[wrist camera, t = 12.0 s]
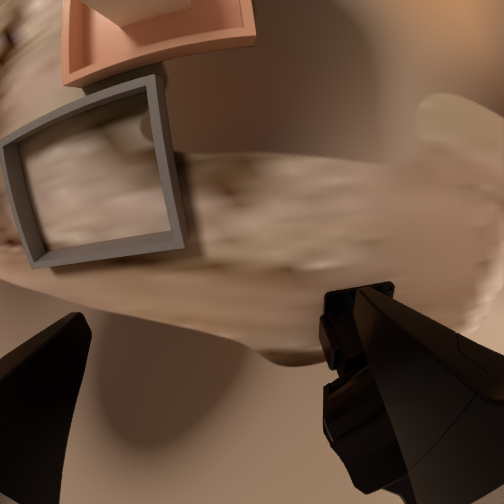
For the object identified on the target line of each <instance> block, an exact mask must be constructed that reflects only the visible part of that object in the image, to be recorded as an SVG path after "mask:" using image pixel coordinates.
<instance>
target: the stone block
mask: <svg viewBox="0 0 504 504" xmlns="http://www.w3.org/2000/svg"><path fill="white" fill-rule="evenodd" d="M80 1H81V2H83V3H84V4H86V5H88V6H89V7H91V8H92V9H94V10H95V11H97V12H98V13H100V14H101V15H103V16H104V17H106V18H107V19H109V20H110V21H112V22H113V23H114V24H116V25H117V26H119V27H120V28H121V27H124V26H127V25H130V24H133V23H136V22H139V21H142V20H146V19H149V18H153V17H156V16H160V15H164V14H168V13H173V12H177V11H182V10H187V9H192V2H191V0H80Z"/></svg>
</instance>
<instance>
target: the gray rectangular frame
mask: <svg viewBox="0 0 504 504" xmlns="http://www.w3.org/2000/svg"><path fill="white" fill-rule="evenodd" d="M146 91H147V97H148V105H149V112H150V119H151V126H152V133H153V139H154V145H155V151H156V157H157V163H158V168H159V174H160V179H161V184H162V189H163V194H164V199H165V204H166V208H167V213H168V218H169V222H170V227H171V231H166V232H159V233H153V234H146V235H140V236H134V237H127V238H121V239H115V240H109V241H104V242H98V243H92V244H86V245H81V246H75V247H70V248H64V249H59V250H54V251H49V252H46V251H45V248H44V246H43V243H42V240H41V237H40V234H39V231H38V228H37V225H36V221H35V218H34V215H33V211H32V208H31V204H30V200H29V196H28V192H27V188H26V184H25V180H24V175H23V170H22V165H21V160H20V154H19V148H18V142H20V141H22V140H24V139H26V138H27V137H29V136H31V135H33V134H35V133H37V132H39V131H41V130H43V129H45V128H47V127H50V126H52V125H54V124H56V123H58V122H60V121H63V120H65V119H67V118H70V117H72V116H75V115H77V114H79V113H82V112H85V111H87V110H90V109H92V108H95V107H98V106H101V105H104V104H106V103H109V102H112V101H115V100H118V99H122V98H125V97H128V96H132V95H135V94H138V93H142V92H146ZM0 161H1V167H2V172H3V177H4V181H5V186H6V190H7V194H8V198H9V202H10V206H11V210H12V213H13V216H14V220H15V223H16V226H17V229H18V232H19V235H20V238H21V241H22V244H23V247H24V250H25V252H26V255H27V258H28V260H29V263H30V265H31V268H32V270H33V269H40V268H47V267H53V266H60V265H67V264H73V263H80V262H87V261H94V260H101V259H108V258H115V257H122V256H129V255H137V254H144V253H151V252H159V251H166V250H174V249H181V248H185V246H186V243H187V241H188V238H189V232H188V228H187V223H186V218H185V213H184V208H183V203H182V198H181V192H180V187H179V181H178V176H177V170H176V164H175V159H174V152H173V146H172V140H171V133H170V127H169V120H168V114H167V105H166V98H165V90H164V81H163V78H161V77H159V76H158V75H156V74H152V75H148V76H145V77H141V78H138V79H134V80H131V81H128V82H124V83H121V84H118V85H115V86H112V87H109V88H107V89H104V90H101V91H98V92H96V93H93V94H91V95H88V96H86V97H83V98H81V99H78V100H76V101H74V102H71V103H69V104H67V105H64V106H62V107H60V108H58V109H56V110H54V111H52V112H50V113H48V114H46V115H44V116H42V117H40V118H38V119H36V120H34V121H32V122H30V123H29V124H27V125H25V126H23V127H21V128H20V129H18V130H16V131H15V132H13V133H11V134H10V135H8V136H6V137H5V138H3V139H2V140H0Z"/></svg>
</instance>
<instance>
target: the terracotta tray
mask: <svg viewBox="0 0 504 504" xmlns="http://www.w3.org/2000/svg"><path fill="white" fill-rule="evenodd" d="M191 2H192V9H187V10H182V11H177V12H173V13H168V14H164V15H160V16H156V17H153V18H149V19H146V20H142V21H139V22H136V23H133V24H130V25H127V26H124V27H121V28H120V27H119V26H117V25H116V24H114V23H113V22H112V21H110V20H109V19H107V18H106V17H104V16H103V15H101V14H100V13H98V12H97V11H95V10H94V9H92V8H91V7H89V6H88V5H86V4H84V3H83V2H81V1H80V0H64V4H63V17H62V44H61V53H62V81H63V86H69V87H77V88H83V87H85V86H88V85H90V84H93V83H95V82H98V81H100V80H103V79H106V78H108V77H111V76H114V75H117V74H120V73H123V72H126V71H129V70H132V69H136V68H139V67H143V66H146V65H150V64H153V63H157V62H161V61H165V60H170V59H174V58H178V57H183V56H188V55H193V54H199V53H205V52H211V51H218V50H225V49H233V48H242V47H253V46H254V43H255V39H256V30H255V23H254V16H253V9H252V3H251V0H191Z"/></svg>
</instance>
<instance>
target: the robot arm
mask: <svg viewBox="0 0 504 504" xmlns="http://www.w3.org/2000/svg"><path fill="white" fill-rule="evenodd" d="M389 286H390V287H389ZM388 287H389V288H388ZM394 288H395V286H394V284H393V283H392V282H391V281H388V282H383V283H377V284H372V285H366V286H360V287H354V288H349V289H343V290H336V291H330V292H327V293H326V294H325V296H324V310H323V315H321V317H320V324H319V340H320V343H321V345H322V348H323V351H324V354H325V357H326V360H327V363H328V366H329V369H330V370H332V371H333V370H337V373H338V376H339V378H337V379H336V380H335V381H333V382H332V383H328V384H327V385H325V386H324V387H323V432H324V434H325V435H326V438H327V440H328V441H329V443H330V446H331V448H332V449H333V450H334V451H335V452H336V453H337V455H338V456H339V457H340V459H341V460H342V462H343V463H344V465H345V467H346V469H347V471H348V473H349V475H350V477H351V480H352V482H353V485H354V486H355V487H356V488H357V489H359V490H360V491H361V492H363V493H364V494H370V493H372V492H375V491H377V490H380V489H383V490H386V491H388V492H391V493H393V494H396V495H398V496H400V497H401V499H402V500H403V502H404V504H504V355H502V354H500V353H497V352H495V351H493V350H491V349H488V348H486V347H484V346H482V345H480V344H477V343H476V342H474V341H472V340H470V339H468V338H466V337H464V336H463V335H461V334H459V333H456V332H455V331H453V330H451V329H449V328H448V327H446V326H444V325H442V324H440V323H438V322H436V321H434V320H432V319H431V318H429V317H427V316H425V315H423V314H421V313H419V312H417V311H415V310H413V309H411V308H409V307H408V306H406V305H404V304H402V303H400V302H398V301H396V300H394V299H393V294H394ZM329 297H332V298H331V299H329ZM91 339H92V332H91V329H90V327H89V325H88V323H87V321H86V319H85V317H84V315H83V314H82V313H80V312H71V313H69V314H68V315H66V316H65V317H63V318H61V319H60V320H58V321H57V322H55V323H54V324H52V325H50V326H49V327H47V328H46V329H44V330H43V331H41V332H39V333H38V334H36V335H35V336H33V337H32V338H30V339H29V340H27V341H26V342H24V343H23V344H21V345H20V346H18V347H17V348H16V349H14V350H12V351H11V352H9V353H8V354H6V355H5V356H3V357H2V358H1V359H0V504H59V500H60V490H61V480H62V472H63V465H64V458H65V452H66V447H67V441H68V436H69V432H70V427H71V422H72V418H73V413H74V409H75V405H76V401H77V397H78V394H79V390H80V386H81V383H82V379H83V375H84V371H85V367H86V362H87V357H88V352H89V348H90V343H91Z"/></svg>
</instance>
